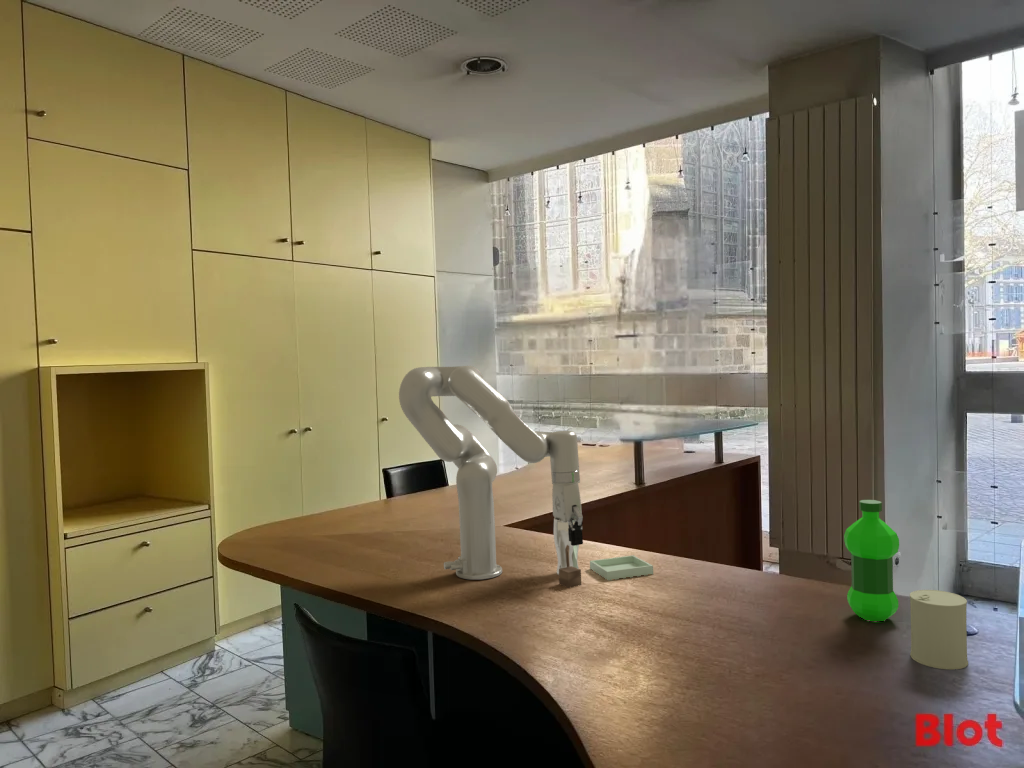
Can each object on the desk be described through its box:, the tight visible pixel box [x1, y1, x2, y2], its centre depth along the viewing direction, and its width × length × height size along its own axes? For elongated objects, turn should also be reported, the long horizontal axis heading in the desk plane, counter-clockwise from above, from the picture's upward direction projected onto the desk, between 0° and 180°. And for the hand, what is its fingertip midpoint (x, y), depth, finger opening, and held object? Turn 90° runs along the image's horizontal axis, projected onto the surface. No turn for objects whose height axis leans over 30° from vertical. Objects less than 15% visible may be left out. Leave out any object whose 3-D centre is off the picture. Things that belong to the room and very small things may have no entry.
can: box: [909, 589, 969, 671], centre depth 135 cm, size 9×9×12 cm
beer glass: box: [553, 517, 580, 576], centre depth 196 cm, size 7×7×15 cm
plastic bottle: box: [843, 499, 900, 622], centre depth 156 cm, size 10×10×25 cm
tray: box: [589, 554, 654, 581], centre depth 196 cm, size 13×11×2 cm
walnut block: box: [558, 566, 582, 589], centre depth 187 cm, size 4×4×4 cm
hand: (570, 540), depth 196 cm, fingers open, 9 cm apart
